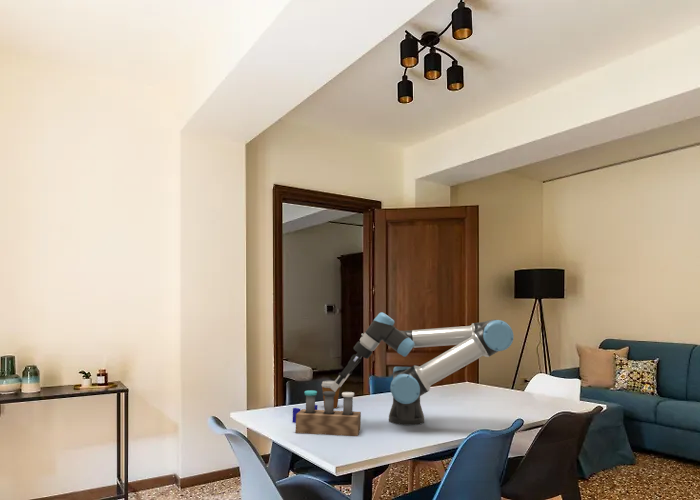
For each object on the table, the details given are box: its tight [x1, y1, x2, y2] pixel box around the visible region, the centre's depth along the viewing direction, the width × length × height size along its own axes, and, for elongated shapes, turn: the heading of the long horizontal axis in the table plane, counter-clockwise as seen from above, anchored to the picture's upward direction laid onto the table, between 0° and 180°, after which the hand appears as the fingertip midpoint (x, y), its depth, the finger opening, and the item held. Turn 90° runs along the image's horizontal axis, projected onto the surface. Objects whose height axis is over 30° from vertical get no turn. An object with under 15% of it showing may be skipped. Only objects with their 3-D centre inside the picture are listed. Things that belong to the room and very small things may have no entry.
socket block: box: [295, 408, 362, 437], centre depth 204 cm, size 24×10×7 cm, turn 82°
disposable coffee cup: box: [321, 380, 341, 409], centre depth 250 cm, size 10×10×12 cm
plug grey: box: [341, 391, 355, 415], centre depth 203 cm, size 5×5×9 cm
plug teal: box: [304, 389, 318, 414], centre depth 206 cm, size 5×5×9 cm
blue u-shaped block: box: [292, 404, 318, 424], centre depth 221 cm, size 12×4×6 cm, turn 141°
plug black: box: [322, 391, 335, 414], centre depth 205 cm, size 5×5×9 cm
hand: (335, 387), depth 215 cm, fingers open, 13 cm apart
